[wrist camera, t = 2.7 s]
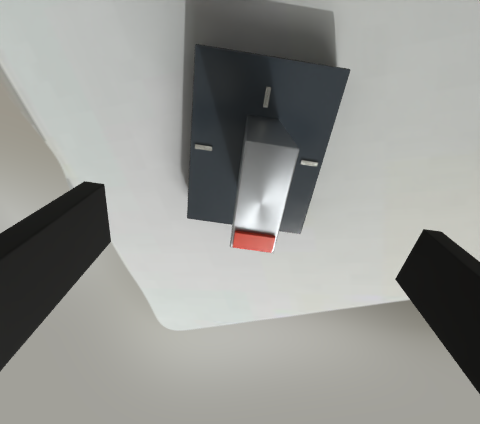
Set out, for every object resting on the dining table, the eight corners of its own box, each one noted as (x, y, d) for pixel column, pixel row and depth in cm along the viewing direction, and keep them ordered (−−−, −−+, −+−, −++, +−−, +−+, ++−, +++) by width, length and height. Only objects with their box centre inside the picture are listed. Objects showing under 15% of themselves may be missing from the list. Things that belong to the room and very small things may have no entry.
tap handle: (247, 114, 19) (245, 142, 11) (279, 119, 19) (300, 150, 11) (236, 186, 22) (229, 250, 14) (264, 190, 22) (273, 256, 14)
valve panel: (202, 48, 20) (194, 43, 17) (337, 70, 20) (351, 69, 18) (193, 204, 27) (186, 219, 24) (295, 219, 27) (300, 235, 24)
